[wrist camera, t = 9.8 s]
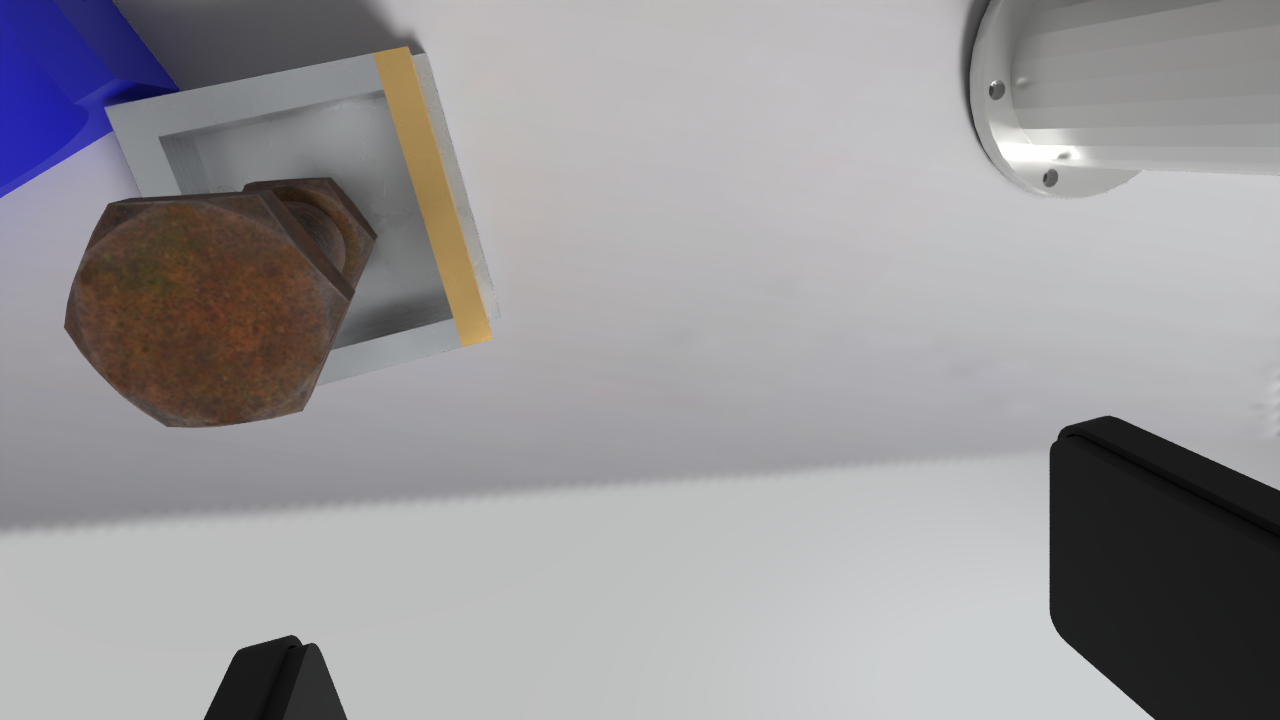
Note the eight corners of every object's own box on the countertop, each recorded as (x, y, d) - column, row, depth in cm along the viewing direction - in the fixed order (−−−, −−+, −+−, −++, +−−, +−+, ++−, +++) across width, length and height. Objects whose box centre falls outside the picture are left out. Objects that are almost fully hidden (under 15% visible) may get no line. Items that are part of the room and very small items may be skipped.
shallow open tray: (427, 55, 30) (422, 41, 26) (500, 312, 34) (506, 336, 30) (139, 114, 28) (85, 109, 24) (248, 378, 32) (217, 414, 28)
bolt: (218, 201, 29) (-6, 276, 15) (325, 127, 29) (202, 135, 15) (320, 319, 31) (208, 480, 17) (420, 250, 31) (389, 355, 17)
